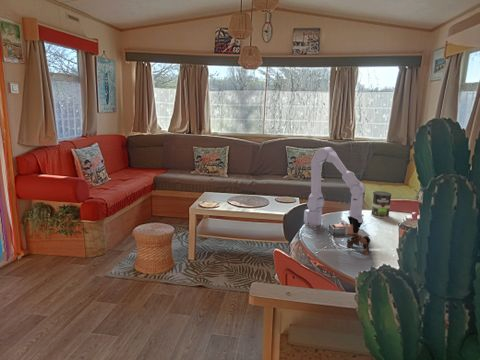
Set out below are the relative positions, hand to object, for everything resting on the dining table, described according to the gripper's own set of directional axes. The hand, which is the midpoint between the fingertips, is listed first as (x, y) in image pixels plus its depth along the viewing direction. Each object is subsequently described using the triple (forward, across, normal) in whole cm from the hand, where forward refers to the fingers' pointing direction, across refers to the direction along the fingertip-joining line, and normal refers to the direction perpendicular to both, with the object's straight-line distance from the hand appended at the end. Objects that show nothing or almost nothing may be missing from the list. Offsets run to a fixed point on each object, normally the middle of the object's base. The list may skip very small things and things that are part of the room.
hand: (354, 231), depth 185 cm
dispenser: (+2, 0, +3) cm, 3 cm away
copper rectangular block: (+1, 0, +4) cm, 5 cm away
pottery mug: (+2, -20, +5) cm, 21 cm away
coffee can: (+2, +31, -28) cm, 42 cm away
